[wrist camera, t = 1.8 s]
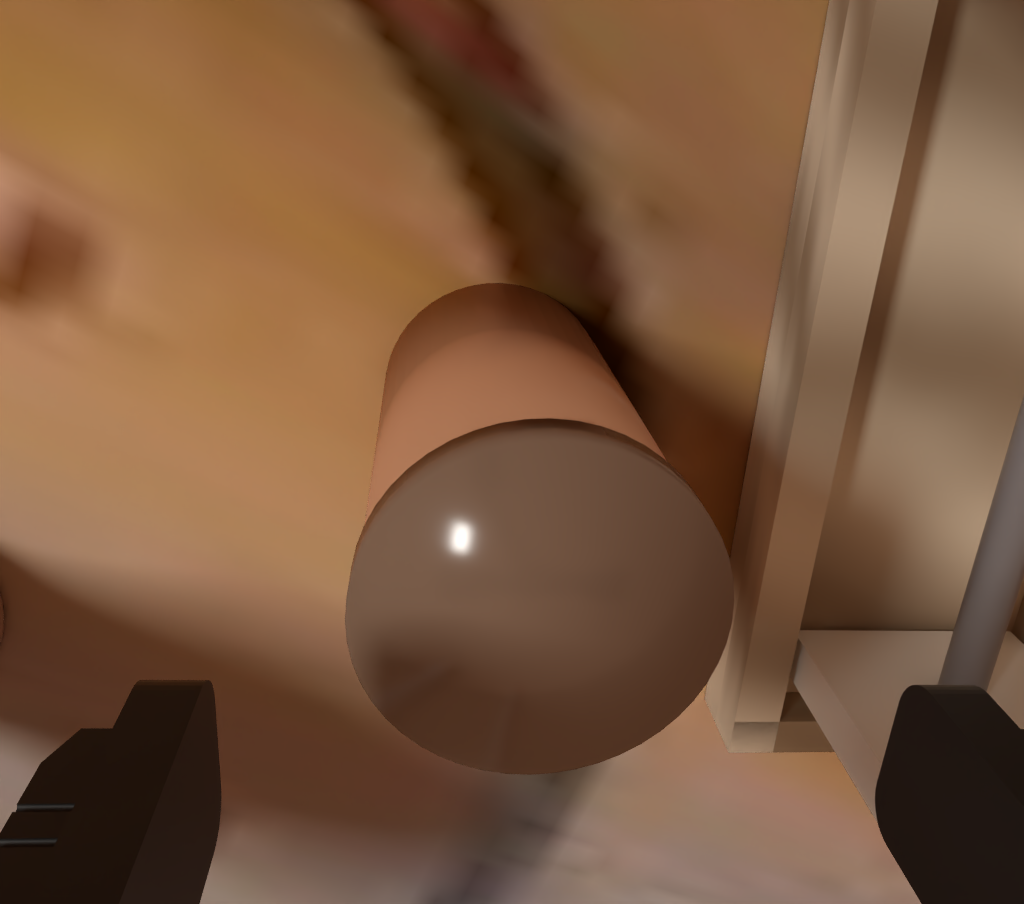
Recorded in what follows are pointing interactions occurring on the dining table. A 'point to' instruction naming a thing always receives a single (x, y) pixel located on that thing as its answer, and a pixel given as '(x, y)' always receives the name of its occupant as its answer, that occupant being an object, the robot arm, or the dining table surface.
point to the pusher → (924, 646)
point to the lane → (883, 351)
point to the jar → (527, 547)
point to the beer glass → (1, 619)
